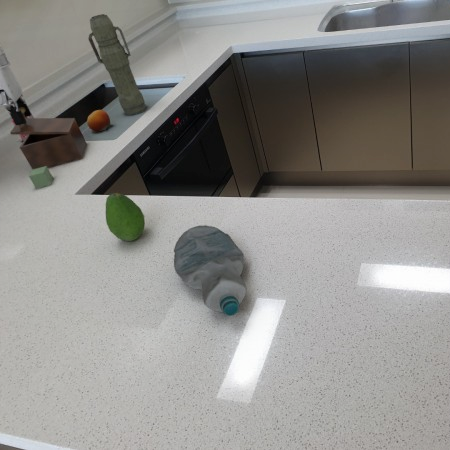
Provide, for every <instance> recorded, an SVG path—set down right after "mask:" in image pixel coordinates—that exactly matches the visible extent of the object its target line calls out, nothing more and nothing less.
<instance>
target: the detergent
mask: <svg viewBox="0 0 450 450" xmlns="http://www.w3.org/2000/svg"><path fill="white" fill-rule="evenodd" d="M173 252H174V254H173V257H174V258H173V268H174V271H175V273H176V275H177V276H178V277H179V278H180V279H181V280H182V281H183V282H184V283H185V284H186V285H187V286H188V287H190V288H192V289H195V290H201V291H202V300H203V304H204V305H205V307H207V308H208V309H210V310H212V311H216V312H221V313H224V314H225V316H234V315H236V314H237V313H238V312H239V309H240V307H239V306H240V305H241V303H242V302H243V300H244V299H245V297H246V295H247V294H246V293H247V286H246V284H245V282H244V279H243V278H242V277H241V275H242V273H243V272H244V265H245V263H244V262H245V256H244V255H245V254H244V252H243V251H242V250H241V249H240V248H239V247H238V245H237V244H236V243H235V241H234V239H232V237H231V236H230V235H229V234H228V233H227V232H224V231H222V230H221V229H220V228H218V227H215V226H211V225H206V224H205V225H195V226H193V227H191V228H189V229H187V230H186V231H184V232H183V233H182V234H181V235H180V236H179V238H178V239H177V241H176V243H175V245H174V248H173Z"/></svg>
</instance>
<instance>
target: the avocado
mask: <svg viewBox="0 0 450 450" xmlns="http://www.w3.org/2000/svg"><path fill="white" fill-rule="evenodd" d="M105 201H106V202H105V222H106V225H107V228H108V229H109V232H110V233H111V234H113V236H115V237H116V238H117V239H119V240H121V241H124V242H132V241H135V240H136V239H138V238H139V237H140V236H141V235H142V234H143V231H144V229H145V226H146V225H145V224H146V221H145V215H144V212H143V211H142V209H141V208H140V206H138V205H137V204H136V203H135V201H134V200H132V199H131V198H129V197H128V196H127V195H125V194H124V193H120V192H114V193H111V194H109V195H108V196H107V197H106V199H105Z"/></svg>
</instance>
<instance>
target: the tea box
mask: <svg viewBox="0 0 450 450" xmlns="http://www.w3.org/2000/svg"><path fill="white" fill-rule="evenodd" d="M49 169H50V168H47V166H44V167H41V168H37V169H33V170H32V169H31V171H30V173H29V175H28V178H29V179H30V181H31V183H32V184H33V187H34V188H35V190H37V189H40V188H44V187H48V186H51V185H52V183H53V180H54V177H53V175H52V173H51V171H50V170H49Z"/></svg>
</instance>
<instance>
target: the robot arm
mask: <svg viewBox="0 0 450 450" xmlns="http://www.w3.org/2000/svg"><path fill="white" fill-rule="evenodd" d="M10 66H11V63H10V60H9V59H8V56H7V54H6V52H5V50H4V49H3V46H2V45H1V43H0V106H2V107H3V108H5V110H7V112H8V114H9V115H10V117H11V120H12V119H13V121H14V123H15V125H21V124H26V120H25V118H24V116H23V114H22V112H21V111H19V108H20V107H24V108H25V109H26V111H25V113H24V114H25V117H28V116H31V115H33V114H32V112H31V109H29V106H28V104H27V103H26V100H25V98H24V96H23V89H22V87H21V84H20V83H19V81H18V79H17V78H16V76H15V73H14V72H13V70H12V68H11V67H10Z"/></svg>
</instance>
